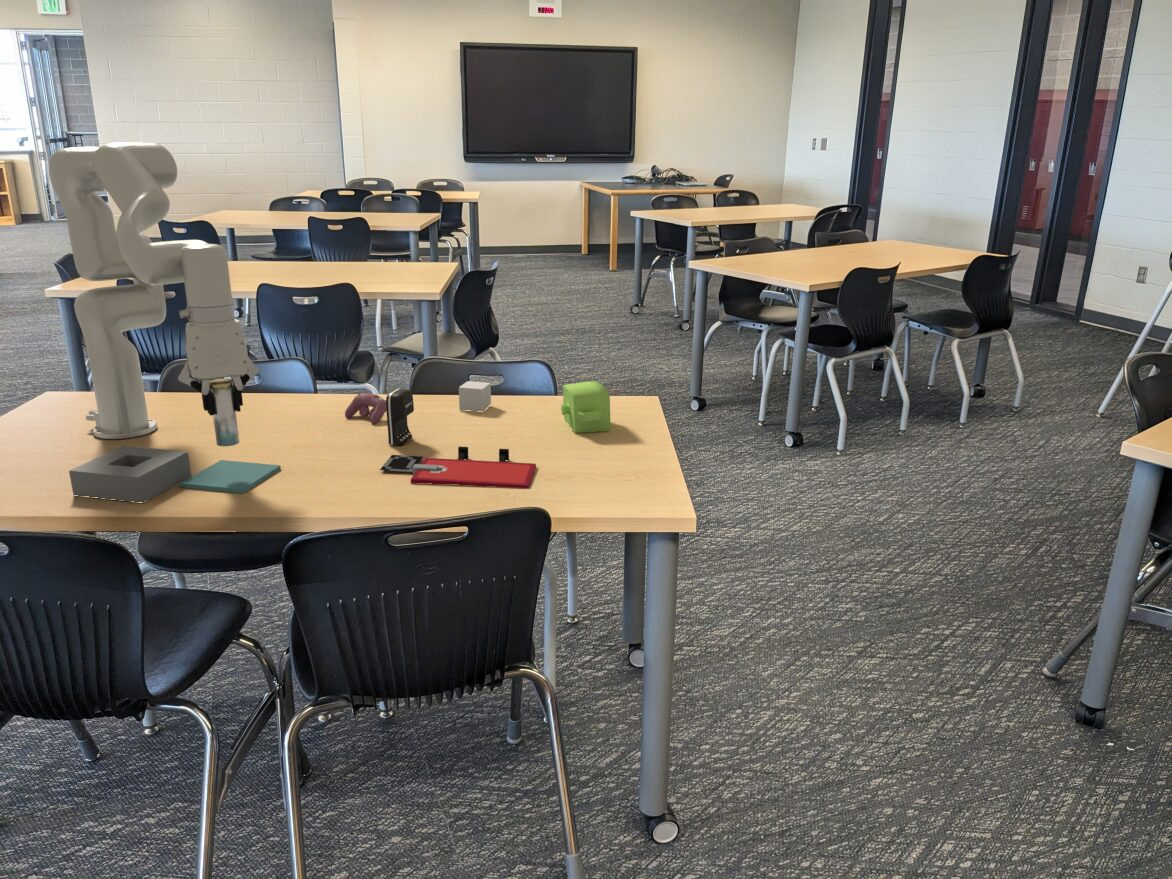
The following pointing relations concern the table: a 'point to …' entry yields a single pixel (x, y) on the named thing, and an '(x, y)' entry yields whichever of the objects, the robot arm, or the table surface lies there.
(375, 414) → the video game controller
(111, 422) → the robot arm
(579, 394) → the gearbox
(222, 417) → the peg
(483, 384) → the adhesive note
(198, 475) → the mat
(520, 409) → the table surface
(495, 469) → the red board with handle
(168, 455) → the block
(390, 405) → the battery charger
